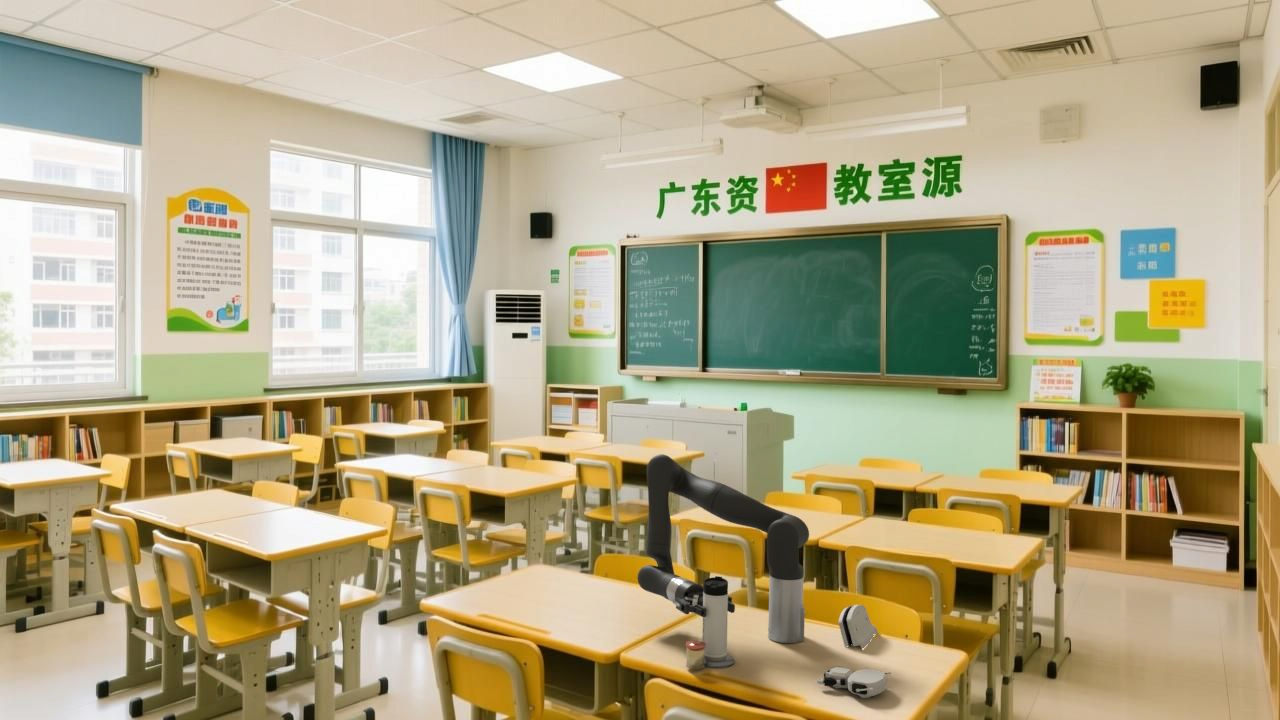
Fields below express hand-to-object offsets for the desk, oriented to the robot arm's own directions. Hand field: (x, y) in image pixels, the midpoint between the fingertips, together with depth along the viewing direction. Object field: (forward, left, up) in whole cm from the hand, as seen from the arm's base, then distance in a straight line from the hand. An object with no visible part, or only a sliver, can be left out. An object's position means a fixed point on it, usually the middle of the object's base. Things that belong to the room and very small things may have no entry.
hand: (719, 611), depth 220 cm
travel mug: (+1, -2, -13) cm, 13 cm away
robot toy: (-30, +17, -14) cm, 37 cm away
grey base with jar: (+3, 0, -13) cm, 14 cm away
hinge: (-41, -18, -14) cm, 47 cm away
